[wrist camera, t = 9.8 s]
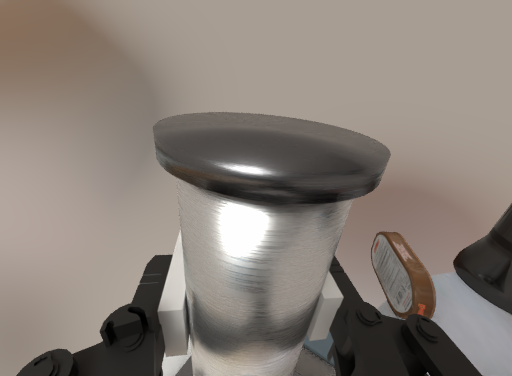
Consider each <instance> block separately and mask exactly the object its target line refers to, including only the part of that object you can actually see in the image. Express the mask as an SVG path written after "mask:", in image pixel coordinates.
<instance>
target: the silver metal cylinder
mask: <svg viewBox="0 0 512 376" xmlns="http://www.w3.org/2000/svg"><path fill="white" fill-rule="evenodd" d="M153 133H154V140H155V148H156V156H157V160H158V162H159V163H160V165H161V166H162V167H163V168H164V169H165V170H166V171H167V172H169V173H171V174H172V175H174V176H175V177H176V179H177V190H178V203H179V214H180V226H181V238H182V250H183V262H184V274H185V285H186V297H187V309H188V321H189V333H190V345H191V356H192V368H193V376H292V375H293V372H294V369H295V367H296V364H297V361H298V358H299V355H300V352H301V349H302V346H303V343H304V341H305V338H306V335H307V332H308V329H309V326H310V323H311V320H312V317H313V315H314V312H315V309H316V306H317V303H318V300H319V297H320V294H321V291H322V289H323V286H324V283H325V280H326V277H327V274H328V271H329V268H330V265H331V263H332V260H333V257H334V254H335V251H336V248H337V245H338V242H339V239H340V237H341V234H342V231H343V228H344V225H345V222H346V219H347V216H348V213H349V211H350V208H351V205H352V202H353V199H354V198H358V197H361V196H364V195H366V194H368V193H370V192H372V191H373V190H374V189H375V188H376V187H377V186H378V185H379V183H380V181H381V178H382V175H383V173H384V170H385V168H386V166H387V163H388V160H389V158H390V155H391V154H390V151H389V149H388V148H387V147H386V146H384V145H383V144H382V143H380V142H378V141H376V140H375V139H372V138H370V137H368V136H365V135H363V134H360V133H357V132H354V131H351V130H347V129H344V128H340V127H336V126H332V125H328V124H323V123H319V122H313V121H308V120H302V119H296V118H289V117H281V116H273V115H263V114H250V113H229V112H218V113H217V112H212V113H211V112H209V113H193V114H183V115H177V116H172V117H168V118H165V119H162V120H160V121H158V122H157V123H156V124H155V125H154V126H153Z"/></svg>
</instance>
